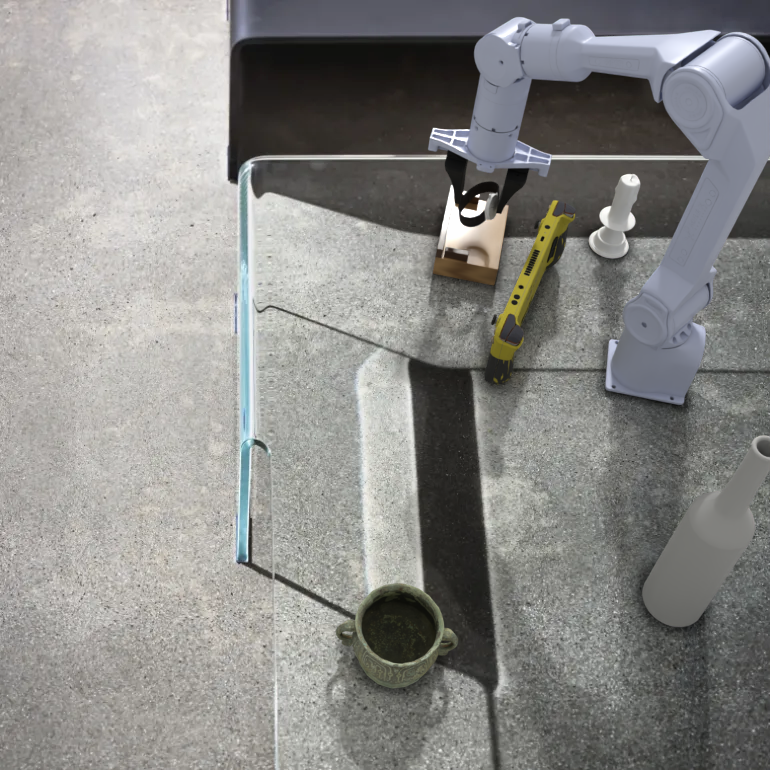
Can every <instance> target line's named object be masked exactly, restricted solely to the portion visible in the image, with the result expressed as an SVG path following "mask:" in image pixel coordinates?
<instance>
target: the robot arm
mask: <svg viewBox="0 0 770 770" xmlns="http://www.w3.org/2000/svg"><path fill="white" fill-rule="evenodd" d="M721 33H722V31H718V30H714V29H705V30H704V29H703V30H697V31H689V32H682V33H669V34H667V33H666V34H664V33H663V34H642V35H641V34H639V35H614V36H613V35H611V36H610V35H609V36H608V35H607V36H596V35H595V34H594V32H593V31H592V29H591V28H589V26H587V25H585V24H571V19H570V18H559V19H558V20H556V21H554V22H553V23H537V22H535V21H534V20H532V19H529V18H526V17H522V16H516V17H514V18H511V19H509V20H508V21H506V22H505V23H503V24H501V25H500V26H498V27H497V28H495V29H493V30H492V31H490V32H488V33H486V34H485V35H484V36H482V37H481V38H480V39H479V40H478V41H477V42H476V44H475V46H474V51H473V58H474V62H475V65H476V68H477V70H478V72H479V79H478V85H477V90H476V95H475V99H474V105H473V110H472V115H471V121H470V126H469V129H444V128H438V127H432V130H431V133H430V136H429V142H428V147H427V150H428V151H431V152H435V153H436V152H438V150H442V151H446V156H445V160H444V170H445V172H446V174H447V176H448V177H449V180H450V182H451V185H452V186H453V190H454V199H455V200H454V203H456V204H459V203H460V201H461V198H462V195H463V191H465V190H464V189H465V183H466V174H467V167H468V163H469V162H471V163H474V164H476V166H475V167H476V170H477V171H479V172H483V173H488V174H492V173H494V172H495V169H507V171H506V175H505V178H504V183H503V186H502V189H501V192H500V194H499V203H498V206H497V211H496V213H499V214H502V211H503V209H504V207H505V205H508V202H509V201H510V199H511V198H513V196H514V195H515V194H516V193H517V192H519V191H520V190H521V189H522V188H524V186H525V184H526V182H527V179H528V176H529V172H530V171H533V172H537V175H538V177H539V176H540V177H544V178H547V177H548V174H549V170H550V167H551V162H552V158H553V154H550V153H547V152H545V151H544V152H543V151H541V150H539V149H537V148H534V147H532V146H530V145H528V144H526V143H524V142H522V141H520V140H518V139H519V136H520V130H521V127H522V122H523V117H524V113H525V109H526V106H527V101H528V97H529V92H530V89H531V84H532V80H539V81H540V80H541V81H556V82H569V83H570V82H571V83H579V82H582V81H584V80H586V79H587V78H588V77H589V76H590V75H591V73H601V74H608V75H615V76H623V77H630V78H637V79H638V78H639V79H645V80H646V79H647V80H648V82H649V85H650V89H651V93H652V97H653V100H654V102H656V103H657V104H659V103H661V102H663V106H664V109H665V111H666V113H667V115H668V116H669V117H670V118H671V120H672V122H674V124H675V125H676V127H678V129H679V130H680V131H681V132H682V133H683V135H684V136H685V137H686V138H687V139H688V141H689V142H690V143H691V144H692V146H693V147H694V148H695V149H696V150H697V151H698V153H699V154H700V155H701V156H702V157H703V158H704V159H705V160H708V161H707V163H706V165H705V166H704V168H703V171H702V173H701V176H700V177H699V180H698V182H697V184H696V186H695V188H694V191H693V193H692V194H691V197H690V199H689V201H688V203H687V205H686V208H685V210H684V211H683V214H682V216H681V218H680V221H679V223H678V224H677V227H676V229H675V231H674V233H673V236H672V238H671V240H670V242H669V244H668V246H667V248H666V249H665V250H666V251H665V252H664V255H663V256H662V259H661V261H660V263H659V265H658V267H657V268H656V269H655V270H654V271H653V273H652V274H651V275H650V276H649V278H648V279H647V280H646V281H645V283H644V284H643V285H642V287H641V288H640V291H639V293H638V294H637V295H635V296H634V297H632V298H630V299H629V300H628V301H627V302H625V304H624V306H623V308H622V316H621V317H622V321H623V324H624V326H623V328H622V331H621V334H620V337H619V339H613V338H611V339H609V340H608V343H607V356H606V367H605V380H604V389H605V390H606V391H607V392H613V393H617V394H623V395H626V396H627V395H628V396H633V397H637V398H642V399H648V400H652V401H656V402H657V401H658V402H662V403H667V404H673V405H677V406H682V405H684V403H685V397H686V394H687V393H688V390H689V388H690V387H691V385H692V383H693V381H694V379H695V376H696V375H697V372H698V371H699V369H700V366H701V363H702V359H703V356H704V353H705V348H706V338H707V332H706V327H705V326H703V325H701V324H698V323H696V322H694V321H693V320H694V317H695V316H696V315H697V314H699V313H700V312H701V311H702V310H704V309H705V308H706V307H708V306H709V305H710V304H711V303H712V301H713V299H714V298H713V297H714V279H715V277H716V275H717V273H718V270H717V269H716V268H715V266H714V264H715V262H716V260H717V258H718V257H719V255H720V253H721V251H722V250H723V248H724V245H725V243H726V241H727V239H728V238H729V236H730V233H731V232H732V230H733V228H734V226H735V224H736V223H737V220H738V218H739V217H740V214H741V213H742V211H743V209H744V207H745V205H746V202H747V201H748V200H749V197H750V195H751V193H752V191H753V189H754V188H755V185H756V184H757V182H758V181H759V178H760V176H761V174H762V172H763V170H764V168H765V166H766V165H767V162H768V161H769V159H770V55H769V54H768V52H767V50H766V48H765V47H764V45H763V44H762V43H761V42H760V41H759V40H758V39H757V38H756V37H754V36H753V35H751V34H749V33H745V32H742V31H733V32H729V33H727V34H724V35H722V36H721V37H719V38H718V39H717V40H716V41H715V40H714V38H716V37H717V36H719V35H720V34H721Z"/></svg>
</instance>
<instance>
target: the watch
mask: <svg viewBox="0 0 770 770" xmlns="http://www.w3.org/2000/svg"><path fill="white" fill-rule="evenodd" d="M466 191H467V192H465V194H464V195H463V196H462V198H461V201H460V203H459V206H458V211H459V220H460V222H461V223H462V225H464V226H466V227H475V226H478V225H480V224H482V223H483V222H484V221H486V220H493V219H494V218H495V216H496V214H497V213H496V211H497V206H498V203H499V199H500V185H499V183H497V182H495V181H491V180H489V181H482V182H479V183H476V184H475V185H473V186H472V187H470V188H469V189H468V190H466ZM486 193H489V194H488V198H487V200H486V201H487V202H486V205H485V209H484V211H483V212H482V213H481V214H479V215H477V216H475V217H465V216H463V215H462V214H461V212H462V210H463V209H464V208H465V206H466V205H467V204H468V203H469V202H470V201H471V199H473V198H474V197H475V196H477V195H479V194H480V195H481V194H486Z"/></svg>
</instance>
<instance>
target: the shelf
mask: <svg viewBox="0 0 770 770" xmlns="http://www.w3.org/2000/svg"><path fill="white" fill-rule="evenodd" d="M467 191H468V190H463V195H464V194H465V192H467ZM463 195H462V196H463ZM480 198H481V194H479V195H477V196H475V197H474V198H473V199H471V201H470V202H469V203H468V204H467V205H466V206H465V208H464V209H463V210H462V212H461V214H462V215H463V216H465V217H475V216H477V215H479V214H481V213H482V212H483V211H484V209H485V205H486V202H487V200H483V199H480ZM454 200H455V199H454V190H453V186H452V184H451V185H450V187H449V191H448V197H447V201H446V205H445V210H444V214H443V220H442V224H441V229H440V233H439V238H438V242H437V246H436V252H435V258H434V263H433V268H432V269H433V270H432V274H433V275H438V276H443V277H448V278H454V279H458V280H463V281H468V282H473V283H478V284H484V285H488V286H495V285H496V280H497V276H498V272H499V267H500V263H501V256H502V250H503V245H504V244H503V243H504V239H505V231H506V226H507V219H508V214H509V209H510V208H509V207H510V205H508V204H506V205H505V207H504V209H503V211H502V214H499V213H497V214H496V216H495V218H494V219H493V220H486V221H484V222H483V223H482V224H480V225H478V226H475V227H466V226H464V225H462V223H461V222H460V220H459V211H458V206H459V204H456V203H454Z"/></svg>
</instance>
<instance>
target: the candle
mask: <svg viewBox="0 0 770 770" xmlns="http://www.w3.org/2000/svg"><path fill="white" fill-rule="evenodd" d="M640 188H641V181H640V179H639V177H638V175H636V174H635V173H632V174H631V173H627V174H624V175H621V177H620V178H619V180H618V183H617V185H616V186H615V188H614V192H615V194H614V196H613V199H612V202H611V205H609V206H606V207H603V208H602V209H601V210H600V212H599V220H600V222H601V224H602V225H603V226H601V227H600V228H599V229H597V230H595V231H593V232H592V233H591V234H590V235H589V237H588V245H589V247H590V248H591V249H592V251H593V252H594V253H595V254H597V255H598V256H601V257H603V258H606V259H620V258H622V257H623V256H625V255H627V253H628V251H629V248H630V245H629V242H628V240H627V237H626V234H625V232H628V231H630V230H632V229H634V227H635V225H636V218H635V216H634V214H633V213H632V212H631V211H632V208H633V205H634V204H635V203H636V201H637V200H638V194H639V191H640Z"/></svg>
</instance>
